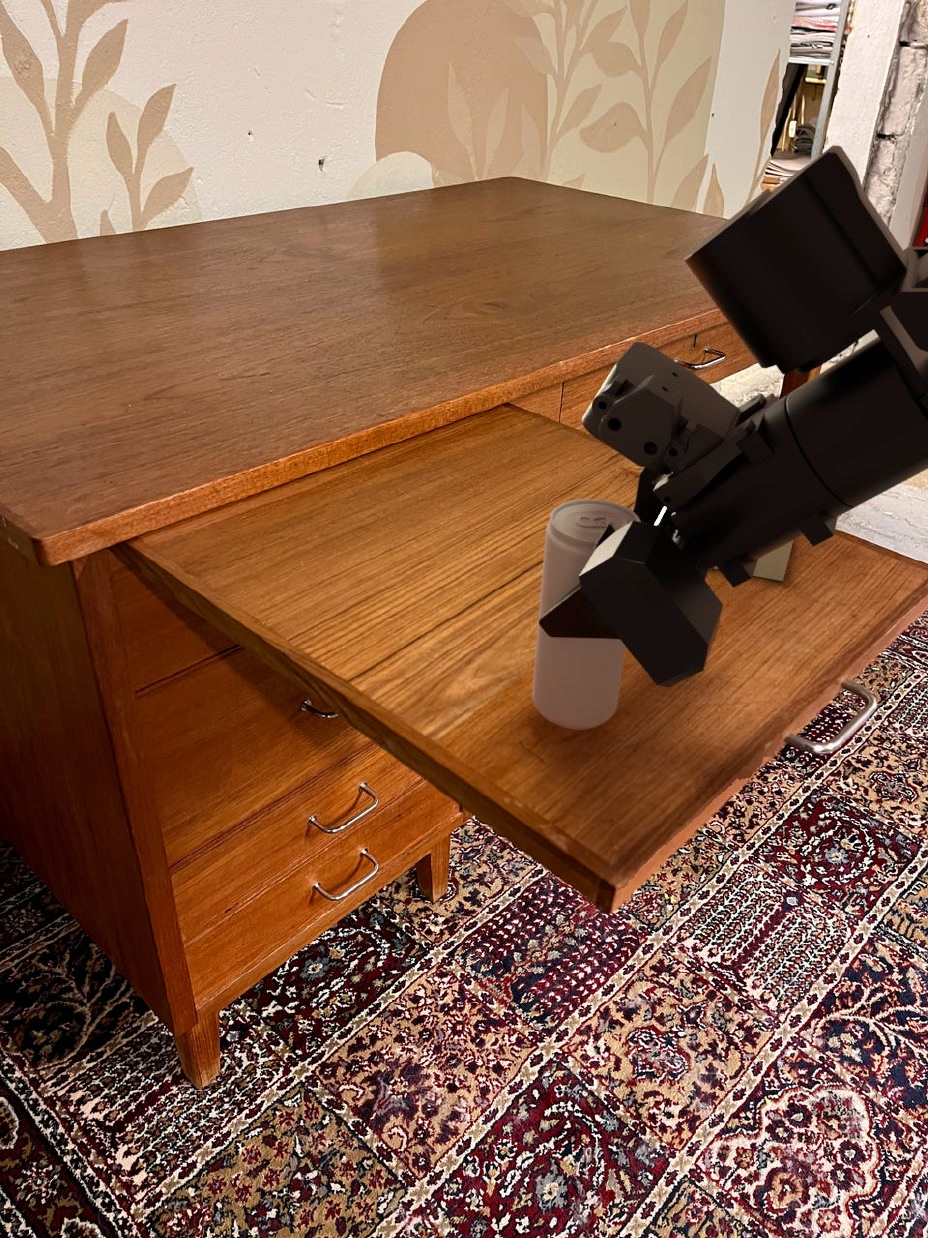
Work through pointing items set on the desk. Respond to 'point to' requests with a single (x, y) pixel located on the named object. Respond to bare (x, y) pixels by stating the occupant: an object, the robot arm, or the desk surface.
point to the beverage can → (576, 667)
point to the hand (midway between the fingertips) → (559, 603)
